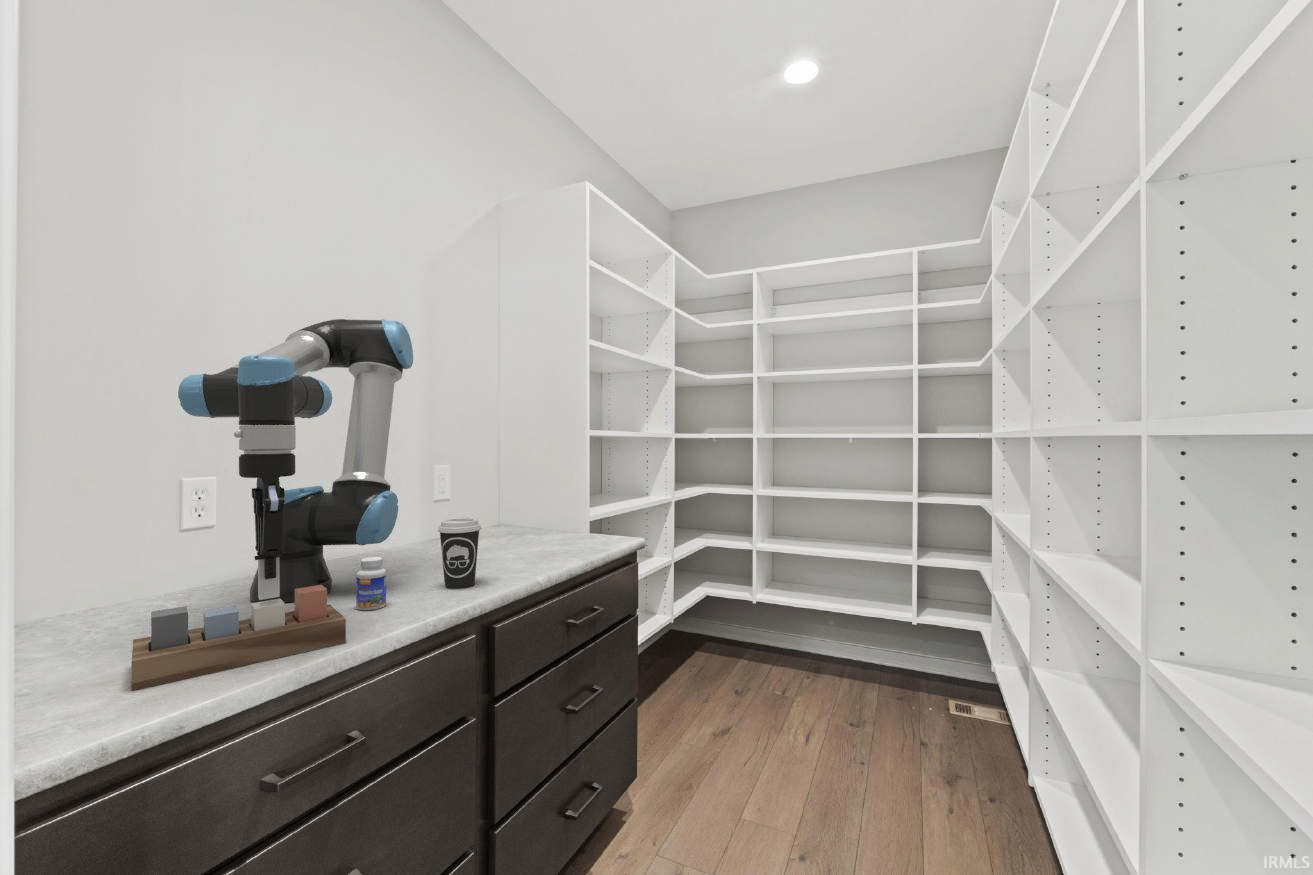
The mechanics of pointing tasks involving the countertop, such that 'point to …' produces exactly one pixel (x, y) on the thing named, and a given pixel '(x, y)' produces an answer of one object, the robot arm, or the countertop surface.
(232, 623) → the key blue
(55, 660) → the countertop surface
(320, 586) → the key brick
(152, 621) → the key charcoal
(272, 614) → the key ivory
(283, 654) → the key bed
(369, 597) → the pill bottle
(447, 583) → the coffee cup
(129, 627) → the countertop surface
